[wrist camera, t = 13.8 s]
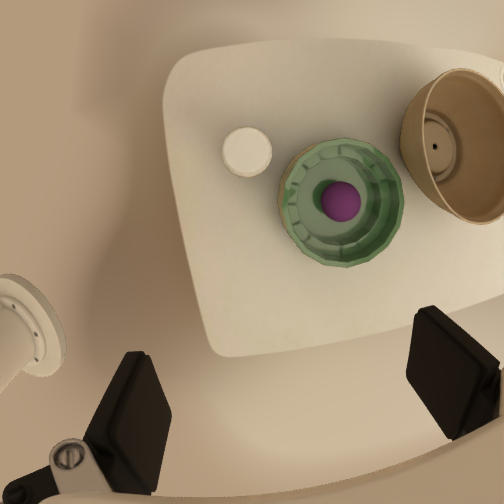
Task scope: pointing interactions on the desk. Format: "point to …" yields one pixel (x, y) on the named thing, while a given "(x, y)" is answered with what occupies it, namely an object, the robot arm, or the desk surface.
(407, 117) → the planter bowl
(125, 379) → the robot arm
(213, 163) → the desk surface
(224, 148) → the pill bottle
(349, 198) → the ball
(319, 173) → the bowl
